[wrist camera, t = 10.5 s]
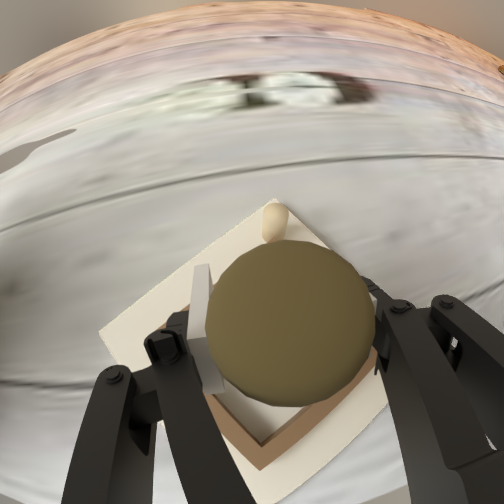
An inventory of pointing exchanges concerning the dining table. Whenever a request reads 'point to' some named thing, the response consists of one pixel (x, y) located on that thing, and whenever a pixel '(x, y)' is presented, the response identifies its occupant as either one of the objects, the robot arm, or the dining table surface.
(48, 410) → the dining table surface
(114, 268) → the dining table surface
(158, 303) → the seat board
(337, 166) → the dining table surface
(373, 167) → the dining table surface
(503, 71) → the pastry
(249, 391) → the cork
